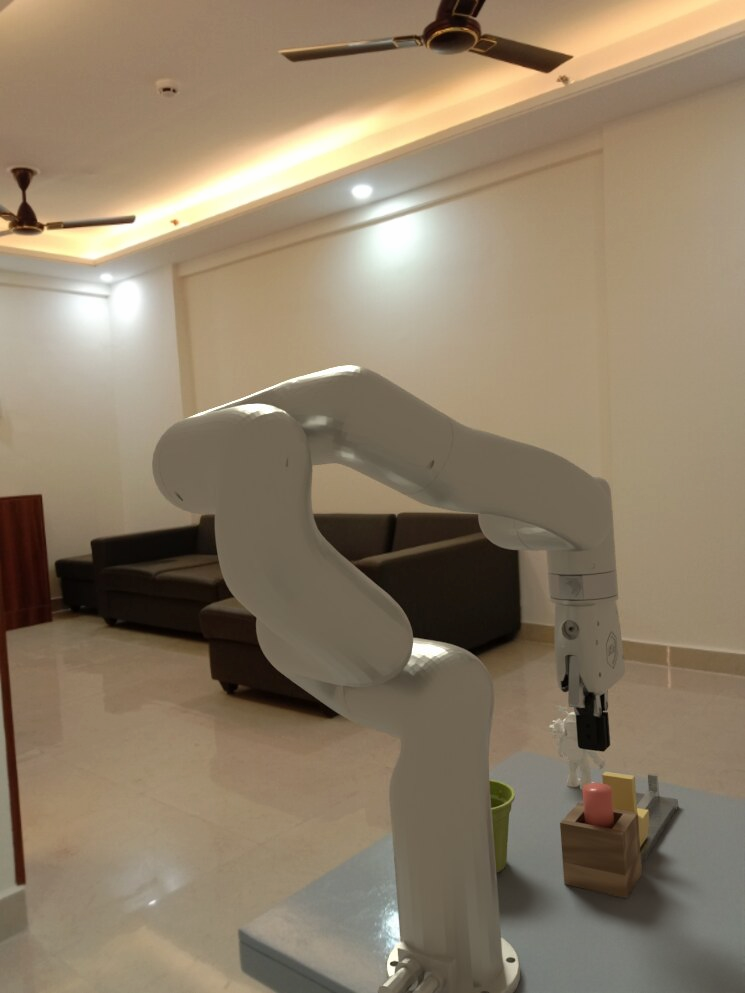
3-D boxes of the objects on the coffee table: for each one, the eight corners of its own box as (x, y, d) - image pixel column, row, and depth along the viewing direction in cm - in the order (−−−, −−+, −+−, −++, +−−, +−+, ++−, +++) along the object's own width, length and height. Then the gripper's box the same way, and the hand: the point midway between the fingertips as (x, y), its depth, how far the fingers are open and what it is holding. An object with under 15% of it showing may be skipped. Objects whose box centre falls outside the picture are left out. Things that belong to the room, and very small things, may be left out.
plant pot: (496, 892, 89) (490, 816, 89) (426, 872, 95) (421, 800, 94) (533, 857, 96) (528, 786, 96) (466, 840, 102) (461, 773, 102)
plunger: (609, 840, 88) (606, 796, 88) (581, 835, 89) (578, 791, 89) (618, 828, 90) (615, 785, 90) (590, 823, 92) (587, 781, 92)
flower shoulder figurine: (548, 782, 118) (542, 703, 118) (564, 774, 121) (558, 697, 120) (599, 798, 111) (593, 714, 111) (615, 790, 114) (609, 707, 113)
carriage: (638, 851, 93) (634, 786, 93) (595, 843, 96) (590, 779, 96) (650, 834, 97) (645, 771, 97) (608, 826, 100) (603, 765, 100)
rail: (638, 870, 91) (636, 836, 91) (587, 859, 95) (585, 826, 94) (678, 806, 107) (676, 777, 107) (633, 799, 110) (631, 770, 110)
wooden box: (626, 898, 86) (622, 834, 85) (564, 883, 89) (559, 822, 89) (641, 873, 90) (637, 812, 90) (582, 860, 94) (578, 802, 94)
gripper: (593, 599, 81) (606, 776, 81) (635, 577, 93) (646, 731, 94) (525, 597, 85) (537, 765, 86) (573, 576, 97) (584, 724, 98)
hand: (594, 747), depth 90 cm, fingers closed
